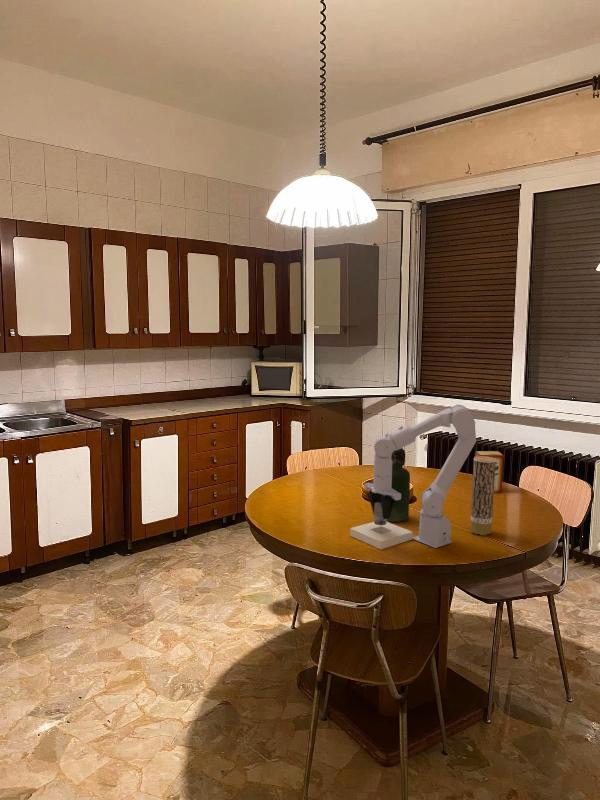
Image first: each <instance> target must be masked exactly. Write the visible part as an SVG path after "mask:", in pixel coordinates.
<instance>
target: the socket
mask: <svg viewBox="0 0 600 800" xmlns="http://www.w3.org/2000/svg"><path fill="white" fill-rule="evenodd" d="M413 533H414V532H413V531H411V530H409V529H406V528H403V527H401V526H399V525H396V524H393V523H391V522H390V521H387V524H386V525H376V524H374V521H372V522H368V523H365V524H361V525H358V526H357V525H356V526H353V527H350V528H349V536H350V537H352V538H355V539H356V540H358V541H361V542H363V543H366V544H368V545H370V546H372V547H375V548H376V549H379V550H383V549H386V548H389V547H393V546H396V545H398V544H403V543H405V542H408V541H412V540H413Z"/></svg>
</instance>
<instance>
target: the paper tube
mask: <svg viewBox="0 0 600 800" xmlns="http://www.w3.org/2000/svg"><path fill="white" fill-rule="evenodd" d="M495 464H496V459H495V458H493V457H488V456H476V457H475V456H474V457H473V467H472V468H473V469H472V486H471V489H472V490H471V506H470V507H471V509H470V526H469V527H470V528H469V529H470V532H471V533H472V532H473V533H472V534H474V533H475V534H474V535H477V534H480V535H479V536H488V535H487V534H489V535H491V534H492V531H493V518H494V517H493V515H494V499H495V495H494V494H495V493H494V482H495ZM490 533H491V534H490Z"/></svg>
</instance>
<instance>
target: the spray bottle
mask: <svg viewBox="0 0 600 800" xmlns="http://www.w3.org/2000/svg"><path fill="white" fill-rule="evenodd" d="M391 460H392V486H391V488H392V489H394V490H395V491H397V492H399V493H401V499H400V500H397V501H396V502H395V504H394V506H393V508H392V511H391V514H390V518H388V519H387V522H389V523H391V522H392V523H400V522H405V521H407V520H408V519H409V517H410V512H409V511H410V487H411V473H410V472H409V470H408V469H406V468H404V466H405V463H406V451H405V449H404V447H403V448H401V449H399V450H397V451H393V453H392V456H391ZM383 497H386V496H385V495H383V496H382V498H383Z"/></svg>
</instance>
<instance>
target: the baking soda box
mask: <svg viewBox="0 0 600 800" xmlns="http://www.w3.org/2000/svg"><path fill="white" fill-rule="evenodd" d="M476 456H488V457H493V458H495V459H496V464H495V482H494V494H502V493H503V492H502V491H503V490H502V489H503V476H504V459H505V458H504V457H505V455H504V454H503V453H501V452H500V451H496V450H495V451H493V450H491V451H490V450H488V451H487V450H486V451H483V450H482V451H481V450H480V451H477V450H475V455H474V457H476Z"/></svg>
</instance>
